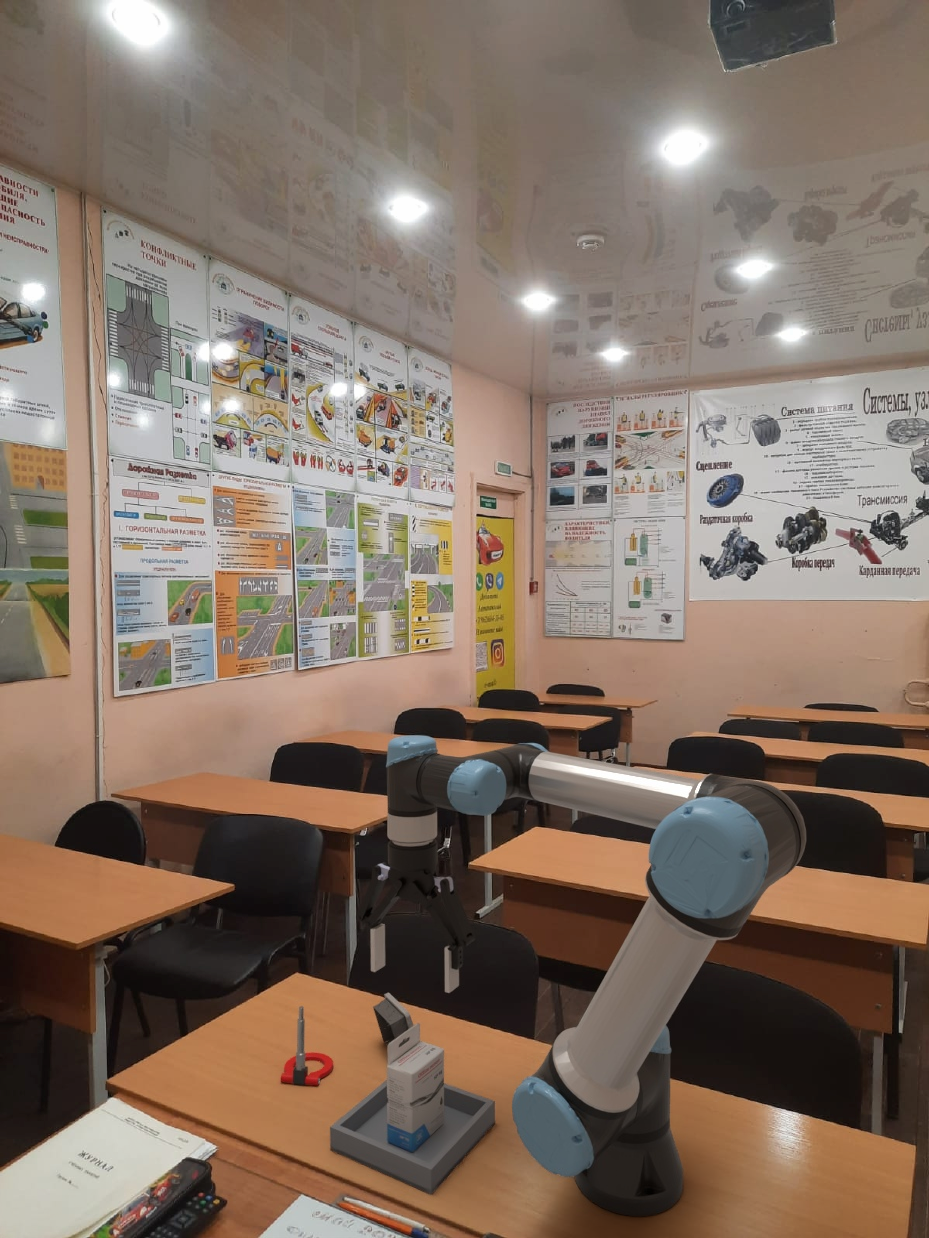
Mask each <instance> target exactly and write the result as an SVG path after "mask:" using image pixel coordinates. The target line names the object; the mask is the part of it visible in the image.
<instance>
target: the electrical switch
mask: <svg viewBox="0 0 929 1238" xmlns="http://www.w3.org/2000/svg"><path fill="white" fill-rule="evenodd" d="M383 996H384V999H383V1000H380V1002H379V1003H377V1004H375V1005H374V1006H372V1008H373V1011H374V1014H375V1018H376V1021H377V1024H378V1027H379V1031H380V1034H381V1038H382V1041H383V1043H384V1045H386V1044H387V1045H386V1047H388V1044H389V1043H390V1042H392V1041H393V1040H394V1039H396V1038H397V1037H398V1036H400V1035H401V1034H403V1033H404V1032H406V1031H407V1030H408V1029H410V1028H411V1027H413V1026H414V1025H415V1024H414V1023H413V1020H412V1016H411V1014H410V1012H409V1011H408V1009H406V1008H405V1006H403V1004H401V1003H400V1002H399V1001H398V999H397V998H395V997H394V996H393V995H392V994H391V993H390V992H387V993H384V994H383ZM408 1041H409V1037H408V1038H407V1039H406V1038H404V1039H403V1041H402V1042H401V1043H400V1044H399V1047H401V1046H402V1045H404V1044H405V1043H406V1042H408Z"/></svg>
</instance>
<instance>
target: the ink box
mask: <svg viewBox="0 0 929 1238" xmlns="http://www.w3.org/2000/svg"><path fill="white" fill-rule="evenodd" d="M413 1025H414V1026H413V1027H411V1028H410V1029H408V1030H407V1031H406V1032H404V1033H403V1034H401V1035H400V1036H398V1037H397V1038H396V1039H394V1040H393V1041H392V1042H390V1043H389V1044H388V1046H387V1052H386V1053H387V1055H386V1057H387V1060H386V1061H387V1064H386V1080H387V1141H388V1142H389V1143H391V1144H394V1145H396V1146H398V1147H401V1148H403V1149H406V1150H408V1151H410V1152H413V1151H415V1150H416V1149H417V1148H418V1147H419V1146H420V1145H421V1144H422V1143H423V1142H424V1141H425V1140H426V1139H427V1138H429V1137H430V1136H431V1135H432V1134H433V1133H434V1132H435V1131H436V1130H437V1129H438V1128H439V1127H440V1126H441V1125H443V1124H444V1083H445V1049H444V1048H442V1047H439V1046H437V1045H434V1044H431V1043H428V1042H425V1041H423V1040H422V1041H421V1039H420V1038H421V1024H420V1022H417V1023H416V1024H413ZM408 1037H409V1041H408V1042H406V1043H405V1044H404V1045H402V1046H401V1047H399V1044H400V1043H401V1042H402V1041H403V1039H404V1038H406V1039H407V1038H408Z"/></svg>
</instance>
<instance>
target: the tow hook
mask: <svg viewBox="0 0 929 1238" xmlns="http://www.w3.org/2000/svg"><path fill="white" fill-rule="evenodd" d="M304 1010H305V1009H304V1006H303V1005H301V1006H299V1007H298V1018H297V1033H296V1034H297V1035H296V1036H297V1037H296V1038H297V1041H296V1042H297V1043H296V1044H297V1045H296V1047H297V1050H296V1052H295V1055H294V1056H293V1057H290V1058H289V1059H288V1060H286V1062H285V1063H284V1067H283V1070H284V1071H283V1072H281V1075H280V1082H281V1083H286V1084H293V1085H299V1086H307V1085H308V1086H318V1085H320V1083H321V1079H323V1078H324V1077H327V1076H328V1075H330V1074H331V1072H332V1071H333V1069H334V1061H333V1058H331V1056H329V1055H327V1054H325V1053H320V1052H305V1027H306V1026H305V1023H306V1022H305V1018H304ZM308 1061H314V1062H319V1061H320V1062H319V1063H322V1065H323V1066H322V1067H321V1068H320V1069H318V1070H315V1071H312V1072H310V1073H309V1066H306V1062H308Z"/></svg>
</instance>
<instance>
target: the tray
mask: <svg viewBox="0 0 929 1238" xmlns="http://www.w3.org/2000/svg"><path fill="white" fill-rule="evenodd" d="M495 1124H496V1101H495V1100H493V1099H490V1098H487V1097H484V1096H482V1095H479V1094H476V1093H474V1092H470V1091H468V1090H465V1089H462V1088H460V1087H456V1086H453V1085H451V1084H448V1083H445V1082H444V1124H443V1125H441V1126H440V1127H439V1128H438V1129H437V1130H436V1131H435V1132H434V1133H433V1134H432V1135H431V1136H430V1137H429V1138H427V1139H426V1140H425V1141H424V1142H423V1143H422V1144H421V1145H420V1146H419V1147H418V1148H417V1149H416V1150H415V1151H413V1152H410V1151H408V1150H406V1149H403V1148H401V1147H398V1146H396V1145H394V1144H391V1143H389V1142H388V1141H387V1079H386V1080H384V1081H383V1082H382V1083H381V1084H380V1085H379V1086H377V1087H375V1089H373V1090H372V1091H371V1092H370V1093H369V1094H367V1095H366V1096H364V1098H363V1099H361V1100H360V1102H358V1103H357V1104H355V1106H354V1107H352V1108H351V1109H349V1111H347V1112H346V1113H345V1114H344V1115H343V1116H341V1117H340V1118H338V1119H337V1120H336V1122H334V1123H333V1124H332V1125H331V1126H330V1127H329V1135H330V1137H329V1141H330V1142H329V1143H330V1145H329V1146H330V1147H329V1149H330V1151H331V1150H332V1151H331V1152H333V1151H334V1153H336V1154H339V1155H340V1156H343V1157H344V1158H347V1159H348V1160H349V1159H350V1160H351V1161H354V1162H356V1163H358V1164H361V1165H363V1166H365V1167H368V1168H370V1169H371V1170H374V1171H376V1172H379V1173H381V1174H383V1175H386V1176H388V1177H390V1178H392V1179H395V1180H396V1181H399V1182H401V1183H404V1184H406V1185H409V1186H410V1187H412V1188H415V1189H417V1190H420V1191H421V1192H424V1193H426V1194H429V1195H430V1196H431V1195H433V1193H434V1192H435V1191H437V1189H438V1188H440V1186H441V1185H442V1183H444V1182H445V1180H446V1179H447V1178H448V1177H449V1176H450V1174H451V1173H452V1172H453V1171H454V1170H455V1169H456V1168H457V1167H458V1166H459V1165H460V1163H461V1162H462V1161H463V1160H464V1159H465V1157H467V1155H468V1154H469V1153H470V1152H471V1151H472V1149H474V1147H475V1146H476V1145H477V1144H478V1143H479V1142H480V1141H481V1140H482V1138H483V1137H484V1136H485V1135H486V1134H487V1133H488V1132H489V1130H491V1128H492V1127H493V1126H494V1125H495Z"/></svg>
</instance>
